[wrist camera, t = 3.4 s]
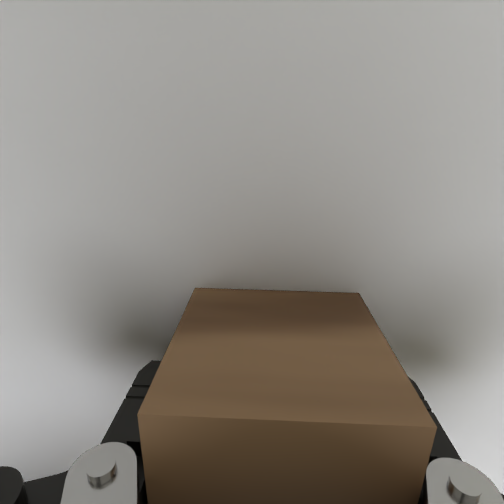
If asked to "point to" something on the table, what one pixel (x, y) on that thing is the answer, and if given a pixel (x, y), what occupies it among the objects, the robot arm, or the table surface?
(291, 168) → the table surface
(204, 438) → the walnut block
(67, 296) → the table surface
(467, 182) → the table surface
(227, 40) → the table surface
